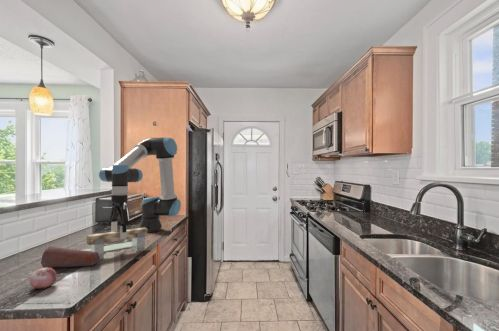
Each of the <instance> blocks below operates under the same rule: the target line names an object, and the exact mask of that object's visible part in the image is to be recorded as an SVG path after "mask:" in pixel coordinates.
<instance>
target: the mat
mask: <svg viewBox="0 0 499 331" xmlns="http://www.w3.org/2000/svg"><path fill="white" fill-rule="evenodd" d="M125 249H132V241H128V242H122V243H115V244H110V245H109V244H108V245H104V253H108V252H114V251H118V250H119V251H120V250H125ZM83 250H84V251H90V248H86V249H83Z"/></svg>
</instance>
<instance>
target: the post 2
mask: <svg viewBox="0 0 499 331" xmlns="http://www.w3.org/2000/svg"><path fill="white" fill-rule="evenodd" d="M145 239H146V236H145V232H141V233H137V238H132V239H131V242H132V247H131V250H133V251H135V252H137V253H139V252H143V251H146V250H145V249H146V244H145V243H146V242H145V241H146V240H145Z"/></svg>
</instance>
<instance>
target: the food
mask: <svg viewBox="0 0 499 331" xmlns="http://www.w3.org/2000/svg"><path fill="white" fill-rule="evenodd" d="M100 260H101V259H100V256H99V255H98V252H93V251H84V249H70V248H64V247H58V246H57V247H56V246H52V245H51V246H48V247H47V248H46V249H45V250H44V252H43V253H42V257H41V261H40V264H41V267H42V268H46V267H48V268H52V269H55V268H76V267H77V268H78V266H79V267H91V266H94V265H95V264H96V263H98V261H100Z"/></svg>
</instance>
